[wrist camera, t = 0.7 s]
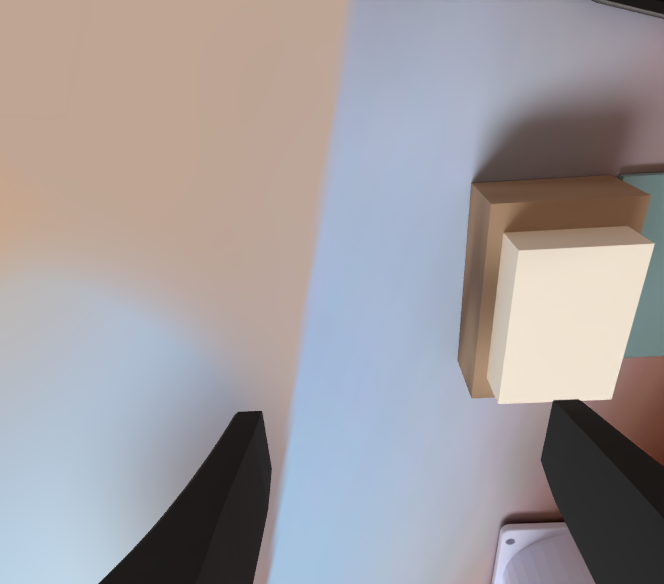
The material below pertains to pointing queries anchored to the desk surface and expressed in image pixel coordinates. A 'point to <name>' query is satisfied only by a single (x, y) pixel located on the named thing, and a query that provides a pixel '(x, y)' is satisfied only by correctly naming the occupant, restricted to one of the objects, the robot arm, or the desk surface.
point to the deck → (518, 216)
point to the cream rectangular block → (564, 312)
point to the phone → (638, 6)
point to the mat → (650, 272)
